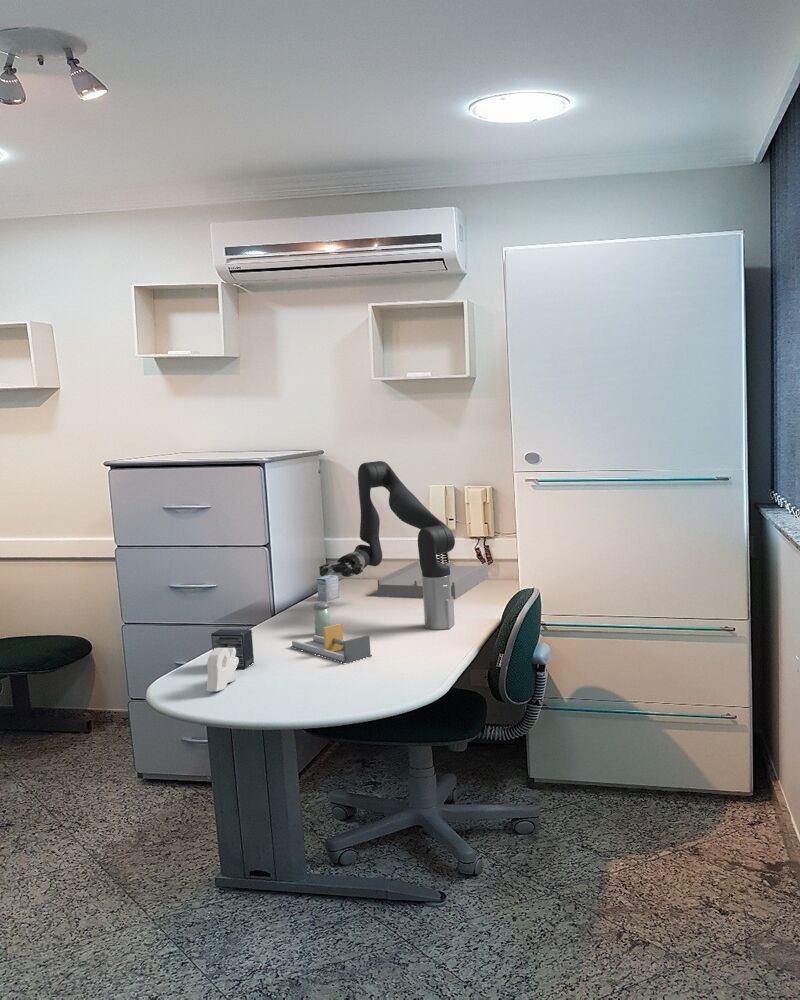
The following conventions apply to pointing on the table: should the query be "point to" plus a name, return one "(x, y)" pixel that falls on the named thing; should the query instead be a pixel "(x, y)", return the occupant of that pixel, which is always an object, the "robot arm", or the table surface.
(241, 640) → the small box
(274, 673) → the table surface
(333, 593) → the medicine box
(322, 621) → the green jar
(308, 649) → the pusher lane
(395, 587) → the desk organizer
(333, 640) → the pusher plate
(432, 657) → the table surface
